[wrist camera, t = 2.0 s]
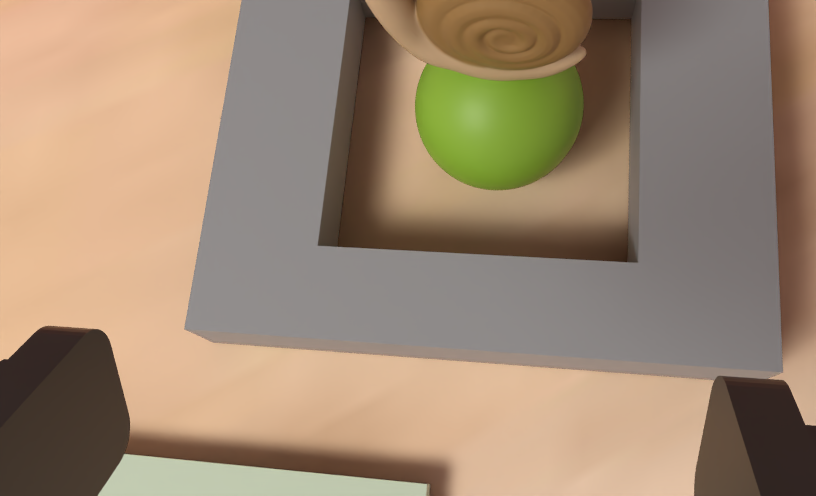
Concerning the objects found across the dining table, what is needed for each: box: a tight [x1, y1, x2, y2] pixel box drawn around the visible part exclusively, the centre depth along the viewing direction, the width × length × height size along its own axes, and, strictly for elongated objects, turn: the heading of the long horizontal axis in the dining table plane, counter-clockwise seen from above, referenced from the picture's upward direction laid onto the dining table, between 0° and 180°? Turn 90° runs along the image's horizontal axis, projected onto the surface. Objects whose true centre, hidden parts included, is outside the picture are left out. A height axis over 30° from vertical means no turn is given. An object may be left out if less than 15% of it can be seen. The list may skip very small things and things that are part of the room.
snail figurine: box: [365, 0, 593, 190], centre depth 22 cm, size 5×6×12 cm
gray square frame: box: [184, 0, 783, 380], centre depth 27 cm, size 18×16×2 cm
